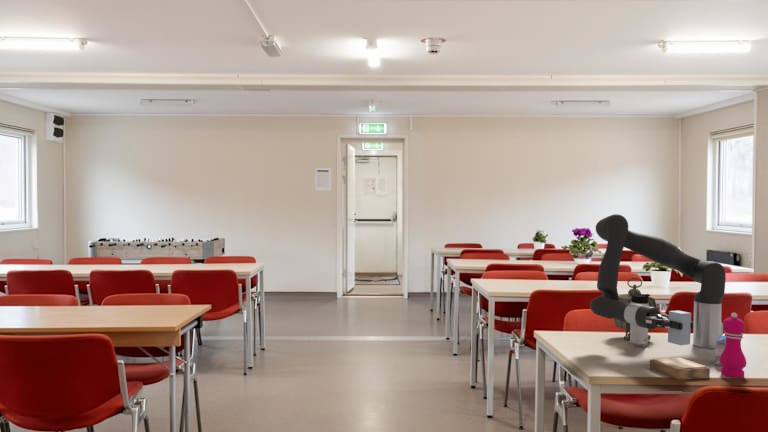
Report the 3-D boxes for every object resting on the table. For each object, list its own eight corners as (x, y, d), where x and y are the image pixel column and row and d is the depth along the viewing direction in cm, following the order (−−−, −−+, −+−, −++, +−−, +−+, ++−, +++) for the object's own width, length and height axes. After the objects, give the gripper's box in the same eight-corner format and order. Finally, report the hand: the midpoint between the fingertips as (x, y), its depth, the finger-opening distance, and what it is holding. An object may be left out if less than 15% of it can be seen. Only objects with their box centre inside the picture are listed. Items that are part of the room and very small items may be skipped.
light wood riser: (679, 367, 183) (680, 356, 183) (709, 377, 171) (709, 366, 171) (649, 368, 180) (649, 358, 180) (677, 379, 168) (677, 368, 168)
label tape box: (718, 360, 193) (719, 325, 193) (732, 362, 191) (733, 327, 191) (714, 365, 186) (715, 329, 186) (728, 367, 184) (729, 330, 184)
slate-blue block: (677, 341, 178) (678, 310, 178) (690, 344, 174) (691, 313, 174) (667, 341, 177) (668, 311, 176) (680, 345, 172) (681, 313, 172)
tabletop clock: (624, 341, 219) (626, 279, 219) (610, 336, 228) (612, 276, 228) (655, 340, 222) (657, 278, 222) (640, 335, 231) (641, 276, 231)
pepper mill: (746, 380, 170) (748, 315, 170) (719, 375, 174) (720, 313, 173) (745, 374, 176) (747, 312, 176) (719, 370, 180) (721, 309, 180)
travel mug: (650, 347, 209) (651, 295, 209) (632, 346, 211) (633, 294, 210) (646, 343, 215) (647, 293, 215) (628, 342, 217) (629, 292, 216)
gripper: (627, 305, 185) (672, 315, 170) (656, 304, 191) (703, 313, 176) (626, 328, 186) (671, 339, 170) (656, 325, 191) (702, 336, 176)
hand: (687, 326), depth 173 cm, fingers closed on slate-blue block, 4 cm apart
